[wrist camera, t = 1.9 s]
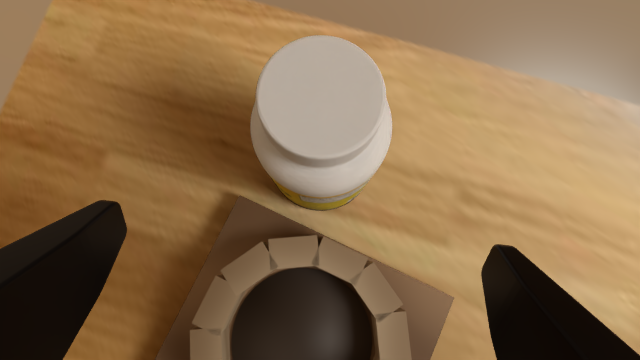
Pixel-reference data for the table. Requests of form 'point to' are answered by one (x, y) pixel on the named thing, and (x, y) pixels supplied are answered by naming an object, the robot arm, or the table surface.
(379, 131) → the supplement bottle
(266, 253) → the board
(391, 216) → the table surface
